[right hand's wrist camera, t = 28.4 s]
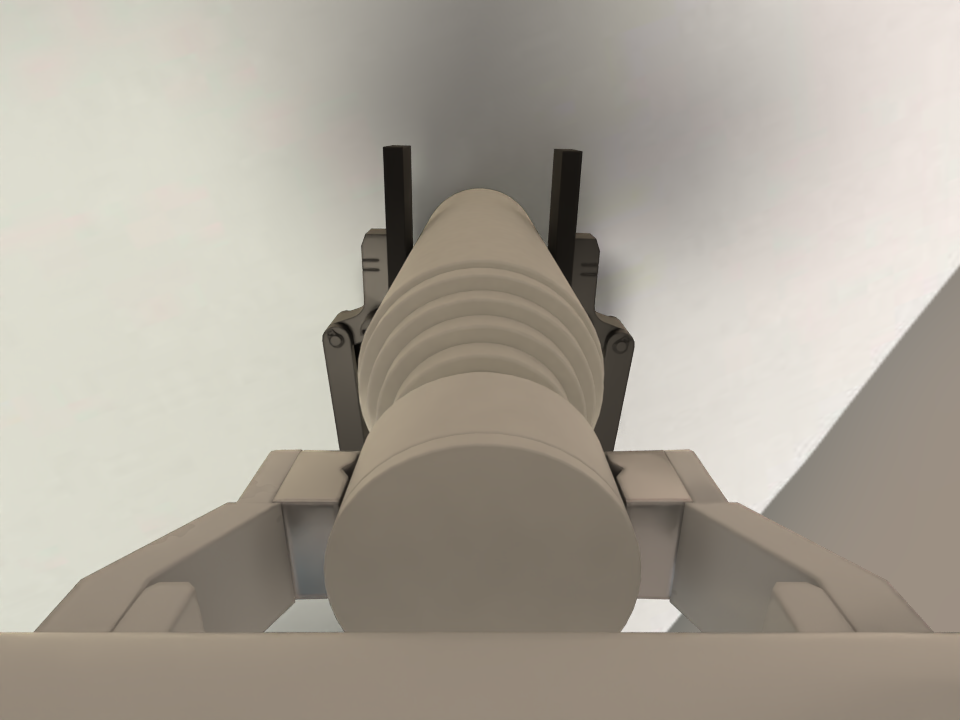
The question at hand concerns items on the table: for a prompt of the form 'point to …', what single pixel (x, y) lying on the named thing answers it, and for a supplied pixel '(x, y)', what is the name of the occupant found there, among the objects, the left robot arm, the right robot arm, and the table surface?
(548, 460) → the cap
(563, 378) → the bottle
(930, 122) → the table surface
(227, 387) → the table surface
